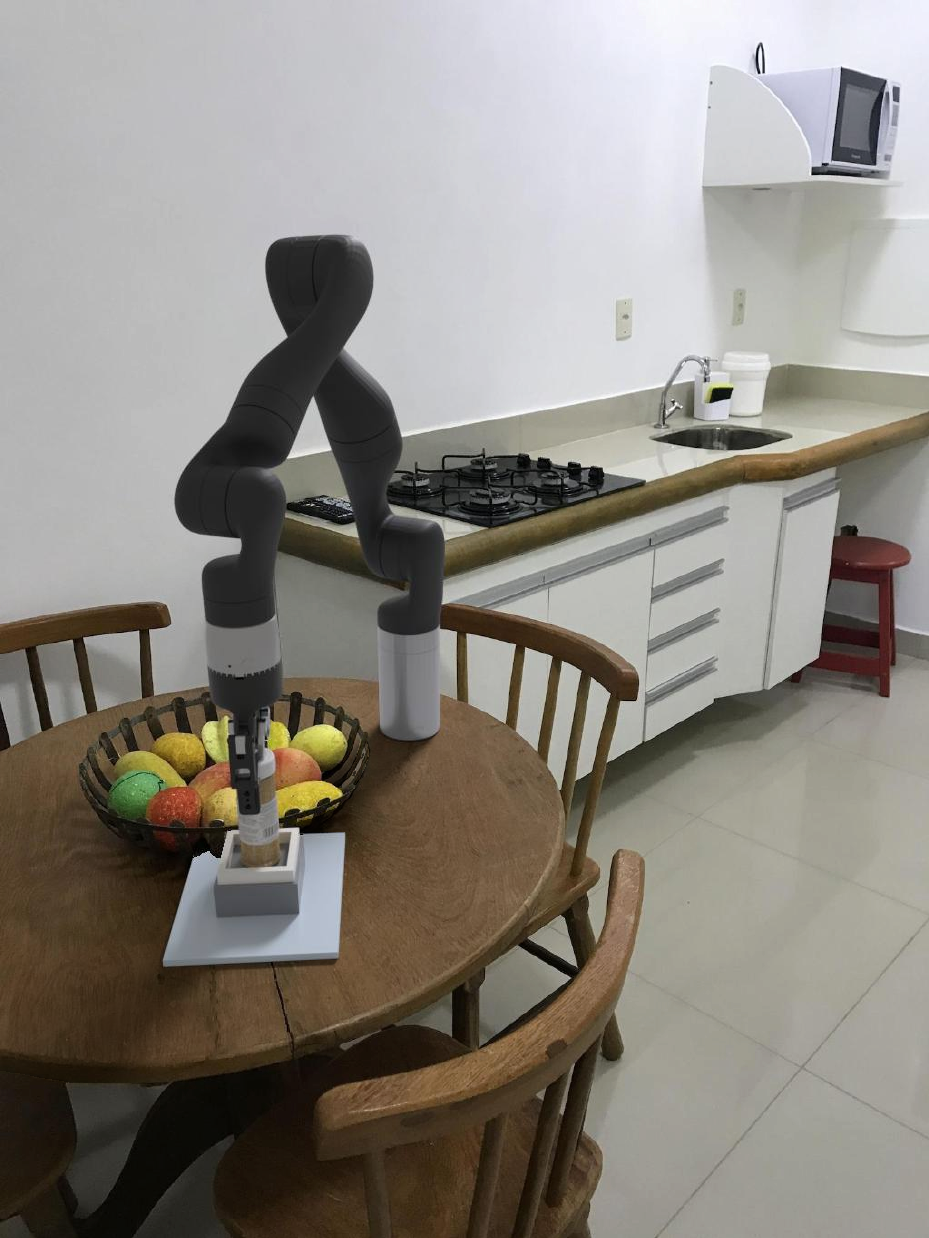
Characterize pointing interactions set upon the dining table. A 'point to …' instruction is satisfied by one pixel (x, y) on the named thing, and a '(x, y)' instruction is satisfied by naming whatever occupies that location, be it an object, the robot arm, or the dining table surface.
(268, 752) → the sprinkles bottle
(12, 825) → the dining table surface
